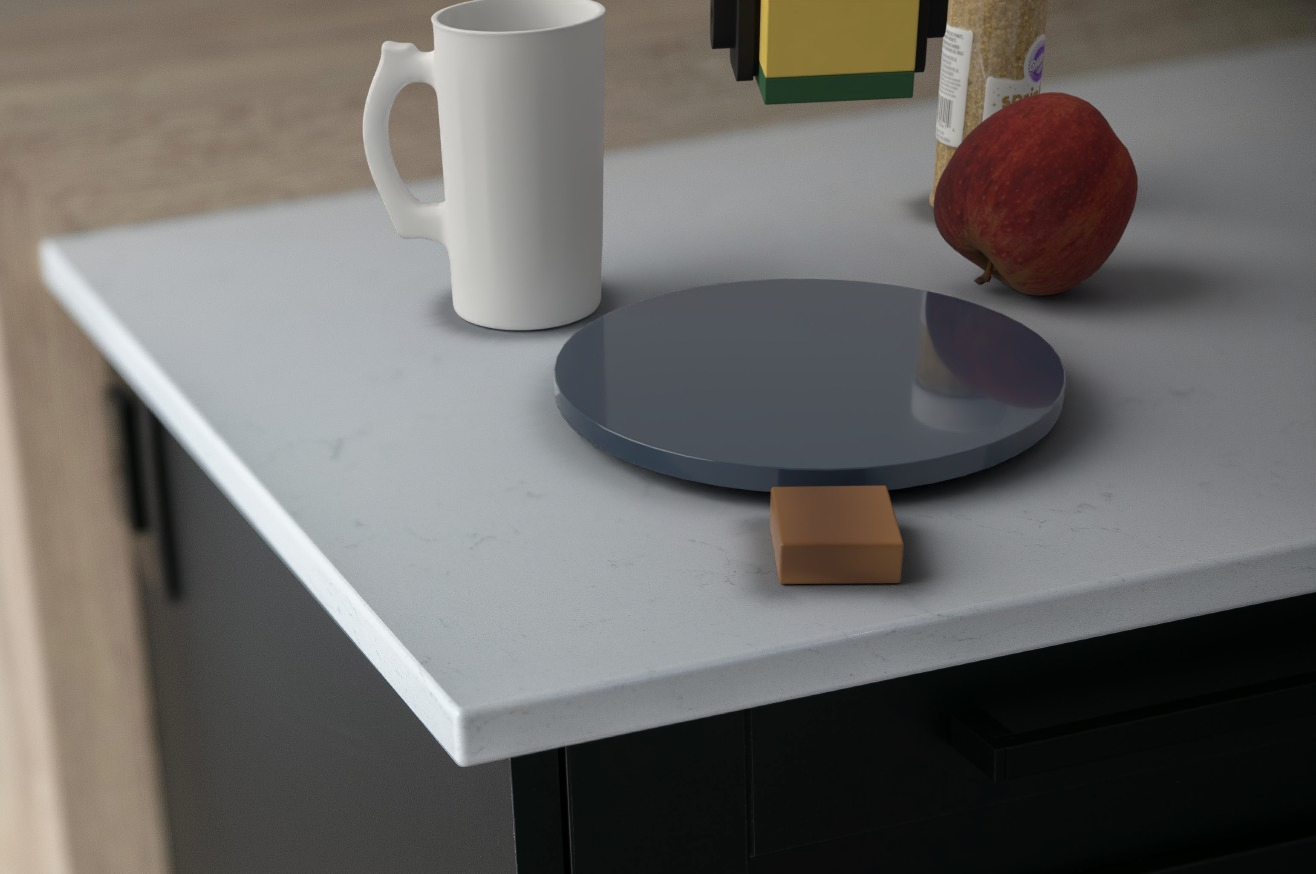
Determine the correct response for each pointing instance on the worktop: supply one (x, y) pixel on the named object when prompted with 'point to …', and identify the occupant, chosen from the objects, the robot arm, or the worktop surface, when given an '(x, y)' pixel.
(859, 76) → the sponge
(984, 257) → the apple
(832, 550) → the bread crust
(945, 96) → the sprinkles bottle
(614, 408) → the plate
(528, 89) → the mug
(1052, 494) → the worktop surface
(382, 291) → the worktop surface
